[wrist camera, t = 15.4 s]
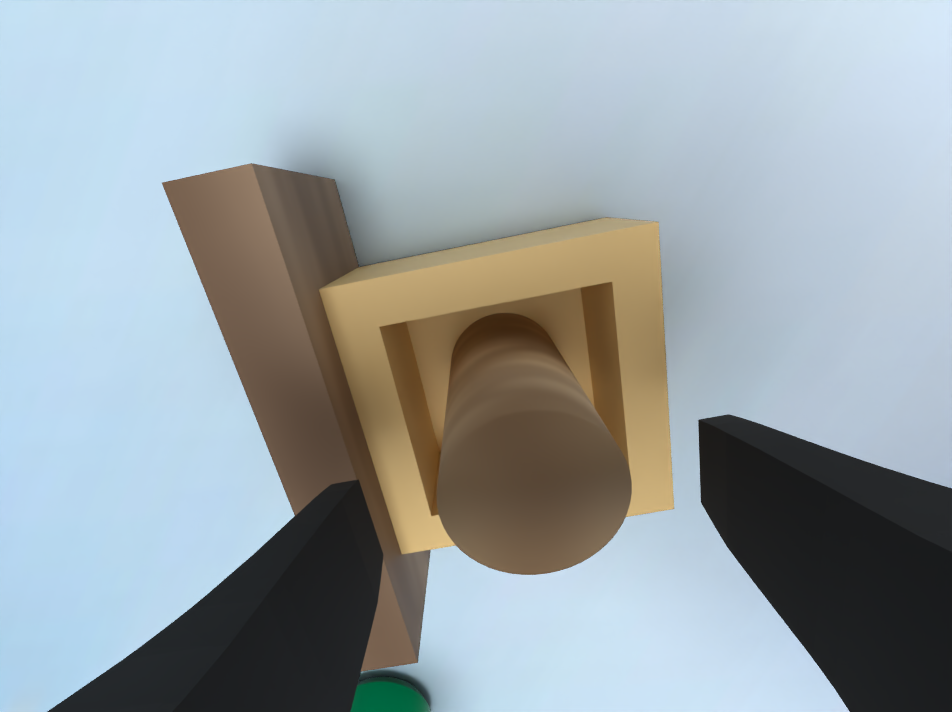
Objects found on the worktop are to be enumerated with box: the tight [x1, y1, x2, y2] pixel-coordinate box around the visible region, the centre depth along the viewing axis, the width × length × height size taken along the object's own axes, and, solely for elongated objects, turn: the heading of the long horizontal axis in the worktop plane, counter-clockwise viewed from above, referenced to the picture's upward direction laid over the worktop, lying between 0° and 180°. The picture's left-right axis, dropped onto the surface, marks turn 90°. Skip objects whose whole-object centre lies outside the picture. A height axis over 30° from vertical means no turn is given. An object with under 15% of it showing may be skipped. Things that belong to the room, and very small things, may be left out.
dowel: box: [436, 313, 632, 575], centre depth 13 cm, size 4×4×8 cm
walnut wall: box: [162, 163, 430, 671], centre depth 15 cm, size 2×15×6 cm, turn 11°
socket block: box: [319, 217, 674, 554], centre depth 15 cm, size 9×9×4 cm
